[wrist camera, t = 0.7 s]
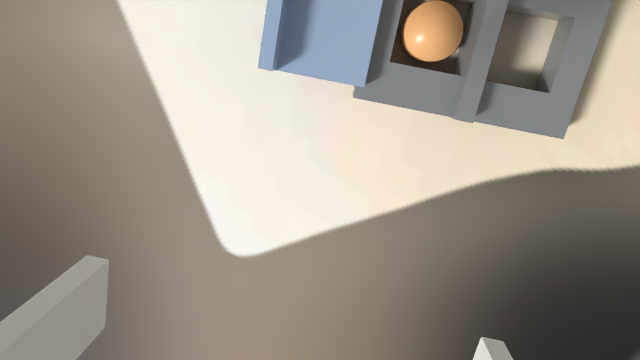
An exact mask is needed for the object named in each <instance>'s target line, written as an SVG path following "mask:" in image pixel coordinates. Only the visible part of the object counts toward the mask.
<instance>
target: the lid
mask: <svg viewBox="0 0 640 360" xmlns="http://www.w3.org/2000/svg"><path fill="white" fill-rule="evenodd" d="M382 2H383V0H268V1H267V8H266V15H265V22H264V29H263V36H262V43H261V50H260V57H259V64H258V68H261V69H266V70H271V71H274V70H279V71H284V72H289V73H294V74H299V75H304V76H309V77H314V78H319V79H324V80H329V81H334V82H339V83H344V84H349V85H354V86H359V87H364V86H365V81H366V77H367V72H368V67H369V63H370V58H371V53H372V49H373V44H374V39H375V35H376V30H377V25H378V21H379V16H380V11H381V7H382Z"/></svg>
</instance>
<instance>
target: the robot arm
mask: <svg viewBox="0 0 640 360" xmlns="http://www.w3.org/2000/svg"><path fill="white" fill-rule="evenodd" d="M108 265H109V260H107V259H103V258H98V257H93V256H88V255H87V256H85V257H84V258H83V259H82V260H80V261H79V262H78V263H76V264H75V265H74V266H72V267H71V268H70V269H69V270H67V271H66V272H65V273H63V274H62V275H61V276H60V277H58V278H57V279H56V280H54V281H53V282H52V283H50V284H49V285H48V286H47V287H45V288H44V289H43V290H41V291H40V292H39V293H37V294H36V295H35V296H34V297H32V298H31V299H30V300H28V301H27V302H26V303H25V304H23V305H22V306H21V307H19V308H18V309H17V310H15V311H14V312H13V313H12V314H10V315H9V316H8V317H6V318H5V319H4V320H3V321H1V322H0V360H76V359H77V358H78V356H79V355H80V354H81V353H82V352H83V351H84V350H85V349H86V347H87V346H88V345H89V344H90V343H91V342H92V341H93V340H94V339H95V337H96V336H97V335H98V334H99V333H100V332H101V331H102V329H103V328H104V327H105V317H106V301H107V283H108ZM473 360H513V359H512V357H511V355H510V353H509V351H508V350H507V348H506V346H505V344H504V342H503V341H499V340H494V339H489V338H484V337H481V339H480V342H479V345H478V348H477V350H476V353H475V355H474V358H473Z"/></svg>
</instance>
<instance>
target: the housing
mask: <svg viewBox="0 0 640 360" xmlns="http://www.w3.org/2000/svg"><path fill="white" fill-rule="evenodd" d="M403 1H404V0H383V2H382V7H381V11H380V16H379V21H378V25H377V30H376V35H375V39H374V44H373V49H372V53H371V58H370V63H369V67H368V72H367V77H366V81H365V86H364V87H359V86H354V91H353V98H358V99H363V100H368V101H373V102H378V103H383V104H388V105H393V106H398V107H403V108H408V109H413V110H419V111H424V112H429V113H434V114H439V115H444V116H449V117H451V118H453V119H456V120H461V121H466V122H471V123H473V122H479V123H484V124H489V125H494V126H499V127H504V128H510V129H515V130H520V131H525V132H530V133H535V134H540V135H545V136H550V137H555V138H560V139H564V136H565V133H566V130H567V128H568V125H569V122H570V119H571V116H572V114H573V111H574V108H575V105H576V102H577V100H578V97H579V94H580V91H581V88H582V85H583V83H584V80H585V77H586V74H587V71H588V69H589V66H590V63H591V60H592V57H593V54H594V52H595V49H596V46H597V43H598V40H599V38H600V35H601V32H602V29H603V26H604V24H605V21H606V18H607V15H608V12H609V9H610V7H611V4H612V1H613V0H456V1H461V2H466V3H471V4H472V5H471V9H470V13H469V17H468V20H467V24H466V28H465V31H464V35H463V21H462V18H461V16H460V14H459V12H458V11H457V10H456V8H455V7H453V6H452V5H451V4H449V3H447V2H444V1H439V0H433V1H428V2H425V3H423V4H421V5H420V6H418V7H417V8H416V9H414V10H413V11H412V12H411V13H410V14H409V15H408V16H407V17H406V19H405V21H404V23H403V26H402V29H401V40H402V44H403V47H404V49H405V50H406V52H407V53H408V54H409V55H410V56H411V57H413V58H414V59H416V60H419V61H425V62H429V61H439V60H442V59H445V58H446V57H448V56H450V55H451V54H452V53H453V52H454V51H455V50H456V49H457V47H458V46H459V44H460V42H461V39H462V36H463V39H462V42H461V46H460V50H459V54H458V57H457V61H456V65H455V68H454V72H453V74H449V73H444V72H439V71H434V70H429V69H424V68H418V67H413V66H408V65H403V64H398V63H393V62H390V58H391V54H392V50H393V45H394V41H395V36H396V32H397V28H398V23H399V19H400V14H401V10H402V6H403ZM506 10H507V11H512V12H517V13H522V14H527V15H532V16H537V17H542V18H547V19H552V20H558V24H557V27H556V30H555V33H554V36H553V39H552V42H551V45H550V48H549V52H548V55H547V58H546V61H545V64H544V67H543V70H542V73H541V76H540V79H539V82H538V85H537V88H536V91H535V90H530V89H525V88H520V87H515V86H510V85H505V84H499V83H494V82H489V81H486V78H487V74H488V71H489V67H490V64H491V61H492V57H493V54H494V50H495V47H496V43H497V40H498V37H499V33H500V30H501V26H502V23H503V19H504V16H505V13H506Z"/></svg>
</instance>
